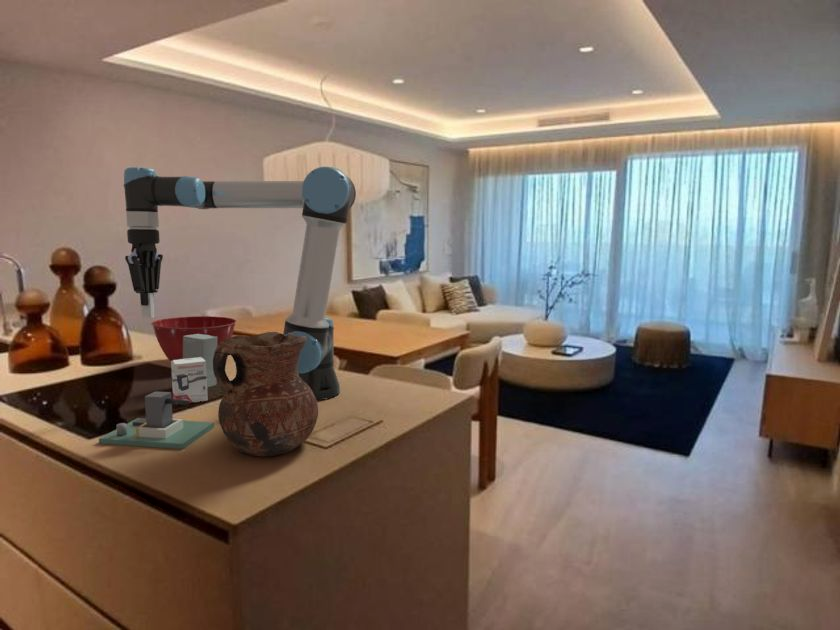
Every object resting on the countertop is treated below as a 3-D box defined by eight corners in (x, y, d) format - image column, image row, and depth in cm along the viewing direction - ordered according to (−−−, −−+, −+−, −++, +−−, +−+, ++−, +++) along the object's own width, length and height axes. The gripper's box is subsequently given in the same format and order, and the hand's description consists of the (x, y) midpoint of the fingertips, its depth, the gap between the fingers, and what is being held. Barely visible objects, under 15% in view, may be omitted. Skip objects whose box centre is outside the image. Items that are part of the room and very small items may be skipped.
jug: (264, 423, 137) (261, 325, 133) (336, 436, 129) (335, 332, 125) (197, 455, 117) (191, 341, 113) (277, 473, 109) (274, 350, 105)
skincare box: (181, 386, 168) (179, 336, 166) (199, 381, 175) (196, 332, 172) (203, 390, 165) (200, 338, 163) (220, 384, 172) (218, 334, 169)
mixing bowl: (219, 351, 219) (217, 313, 217) (250, 364, 199) (249, 322, 196) (143, 361, 200) (140, 319, 198) (169, 376, 180) (167, 330, 177)
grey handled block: (195, 430, 128) (193, 393, 127) (186, 436, 124) (184, 398, 123) (155, 428, 129) (152, 391, 128) (144, 434, 125) (142, 396, 124)
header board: (214, 427, 134) (213, 413, 133) (182, 449, 120) (181, 433, 120) (138, 422, 136) (137, 408, 136) (99, 443, 123) (97, 428, 122)
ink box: (175, 405, 150) (173, 363, 149) (172, 400, 154) (170, 360, 153) (208, 400, 155) (206, 360, 153) (204, 396, 159) (202, 356, 157)
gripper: (145, 228, 151) (150, 313, 154) (113, 228, 138) (119, 320, 141) (170, 229, 150) (175, 314, 153) (140, 228, 137) (146, 321, 140)
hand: (148, 317), depth 147 cm, fingers closed
